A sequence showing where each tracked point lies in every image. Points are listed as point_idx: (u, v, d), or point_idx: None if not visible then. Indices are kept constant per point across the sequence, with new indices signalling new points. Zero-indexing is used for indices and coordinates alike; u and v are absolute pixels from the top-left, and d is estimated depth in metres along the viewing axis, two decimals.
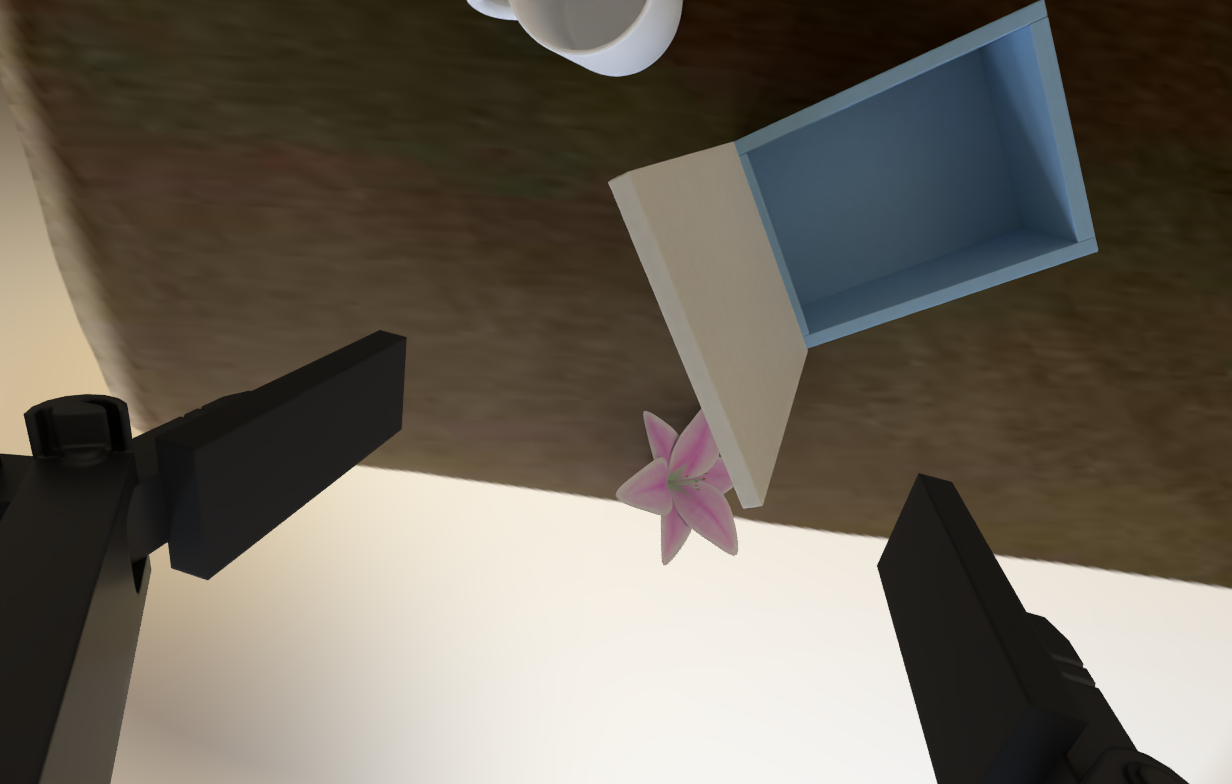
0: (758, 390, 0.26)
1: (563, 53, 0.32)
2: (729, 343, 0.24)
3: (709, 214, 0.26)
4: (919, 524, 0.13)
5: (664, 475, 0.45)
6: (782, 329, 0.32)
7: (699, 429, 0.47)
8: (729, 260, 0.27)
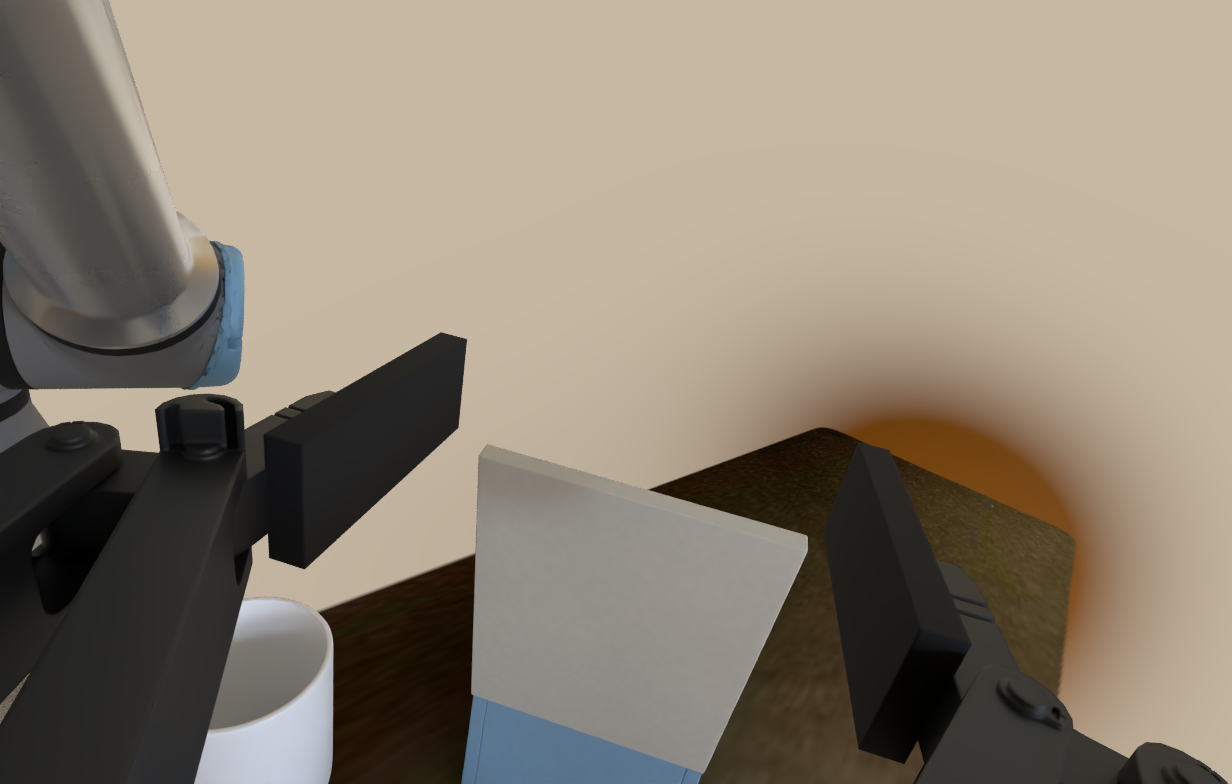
0: None
1: (261, 721, 0.28)
2: None
3: None
4: (855, 488, 0.14)
5: None
6: None
7: None
8: None
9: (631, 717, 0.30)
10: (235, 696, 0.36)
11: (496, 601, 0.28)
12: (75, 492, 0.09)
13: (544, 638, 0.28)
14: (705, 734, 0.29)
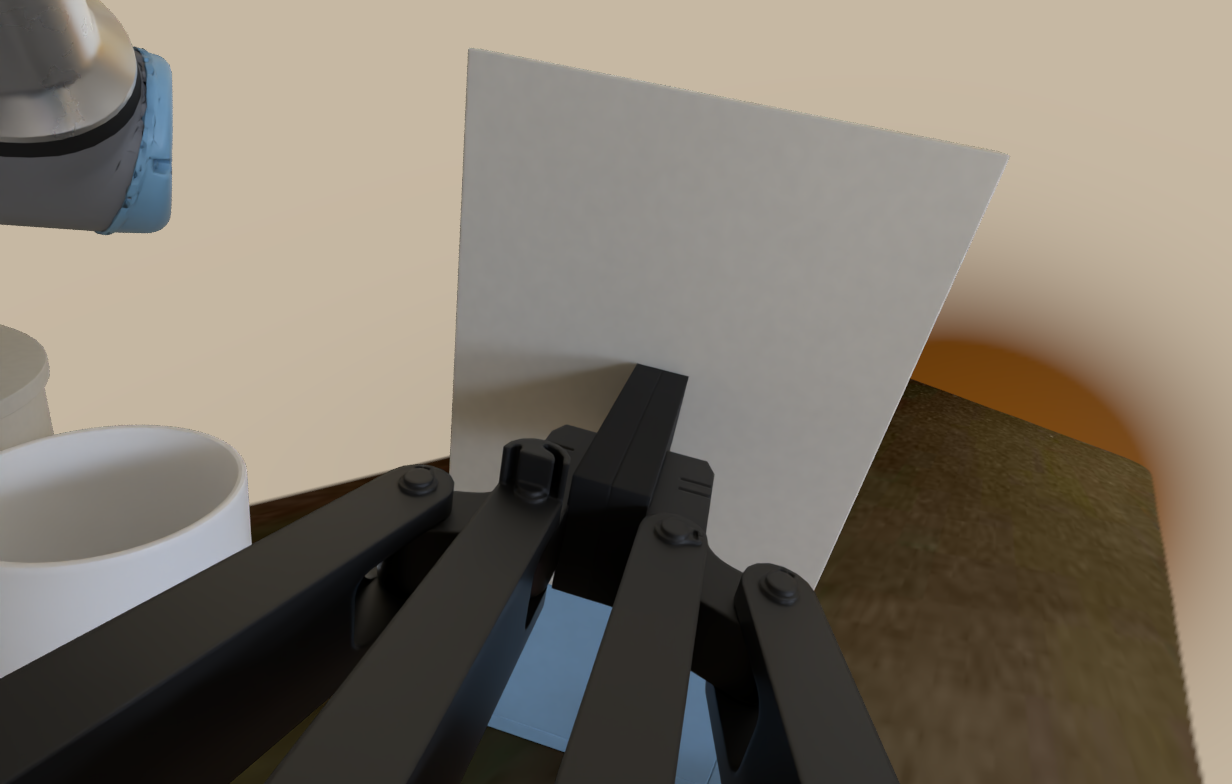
0: None
1: (115, 557, 0.18)
2: None
3: None
4: None
5: None
6: None
7: None
8: None
9: None
10: None
11: (487, 362, 0.19)
12: (404, 538, 0.10)
13: (558, 424, 0.19)
14: None
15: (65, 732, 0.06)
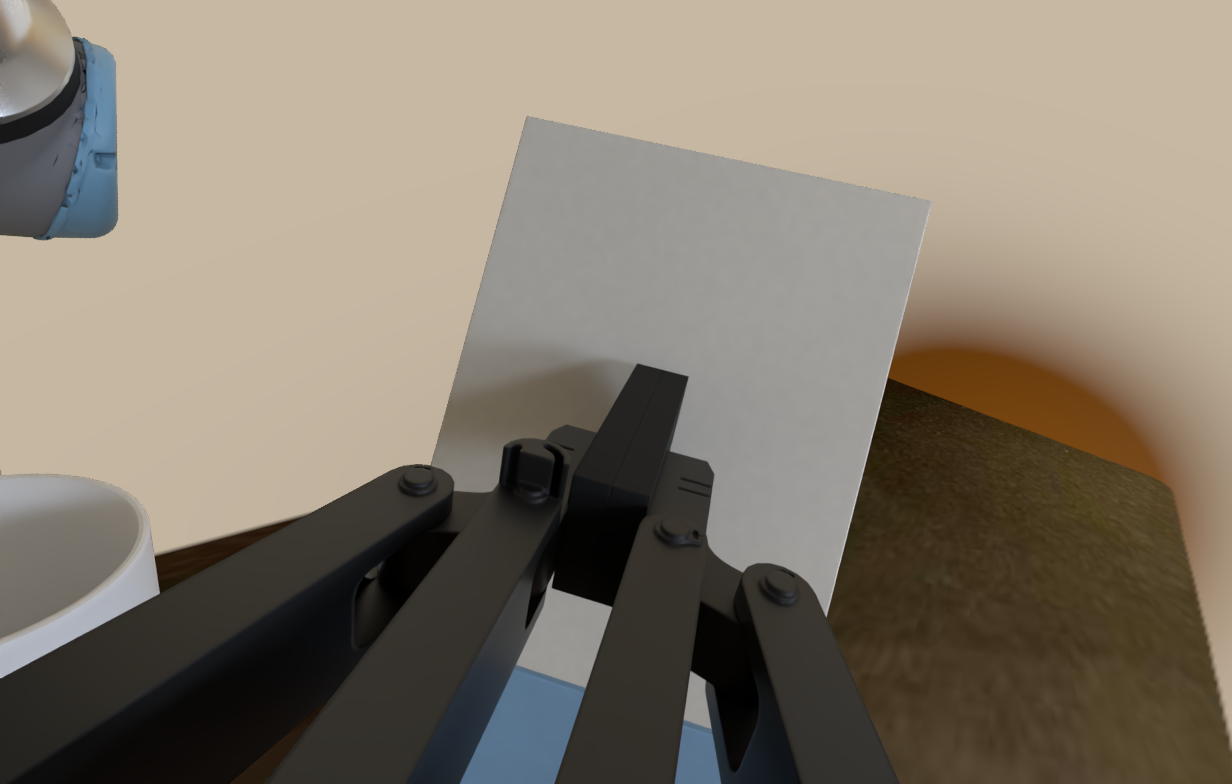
0: None
1: None
2: None
3: None
4: None
5: None
6: None
7: None
8: None
9: None
10: None
11: (489, 374, 0.19)
12: (404, 538, 0.10)
13: None
14: None
15: (65, 732, 0.06)
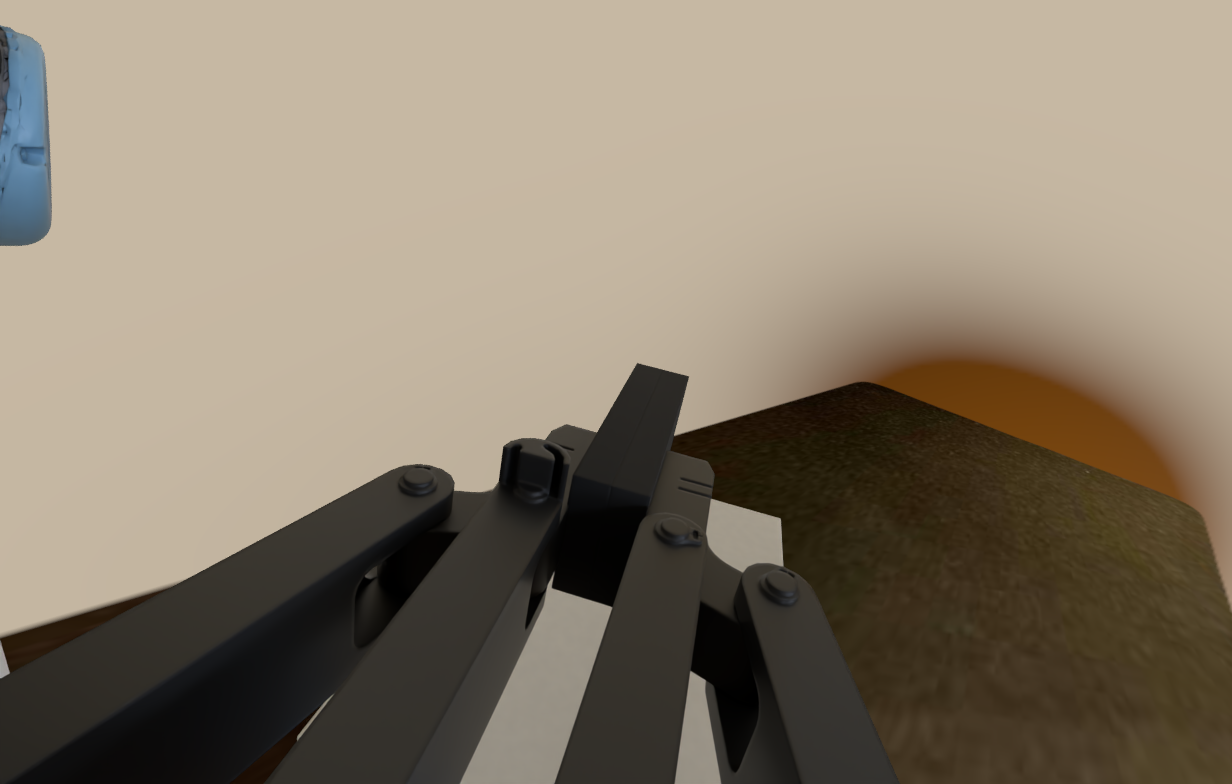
0: None
1: None
2: None
3: None
4: None
5: None
6: None
7: None
8: None
9: None
10: None
11: None
12: (404, 538, 0.10)
13: None
14: None
15: (65, 732, 0.06)
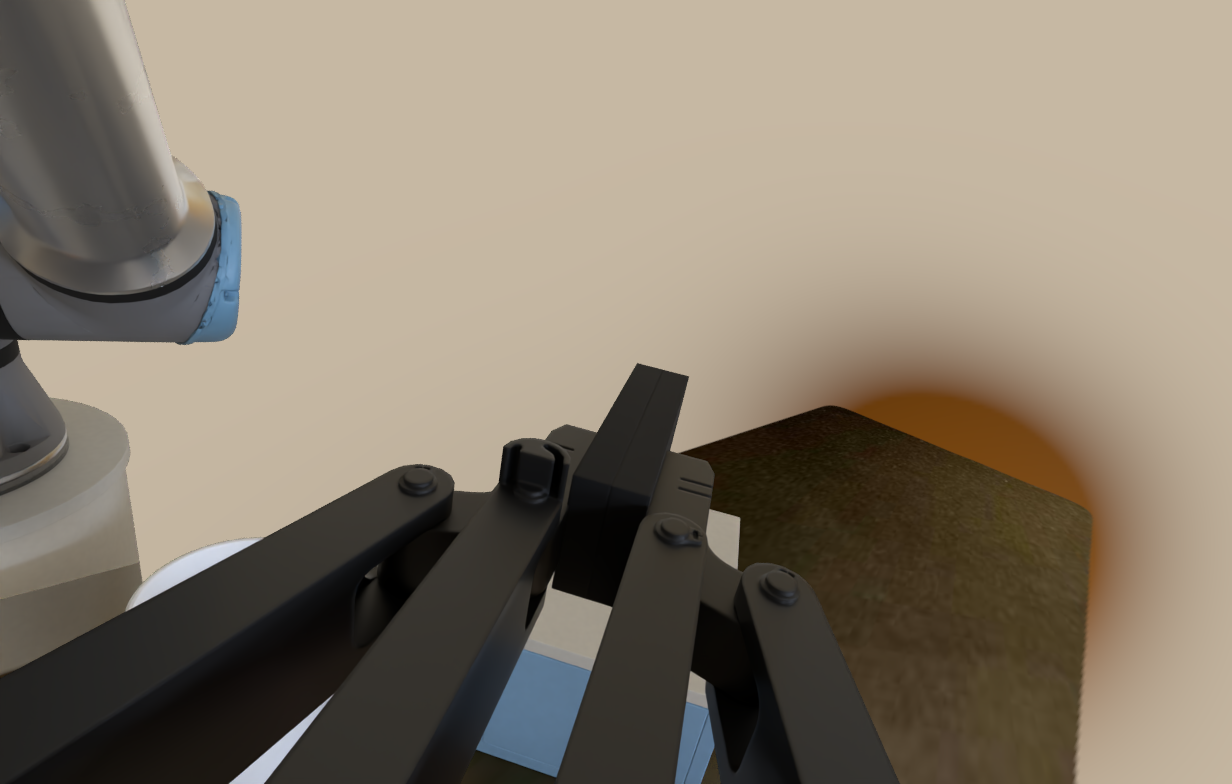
0: None
1: None
2: None
3: None
4: None
5: None
6: None
7: None
8: None
9: None
10: None
11: None
12: (404, 538, 0.10)
13: None
14: None
15: (65, 732, 0.06)
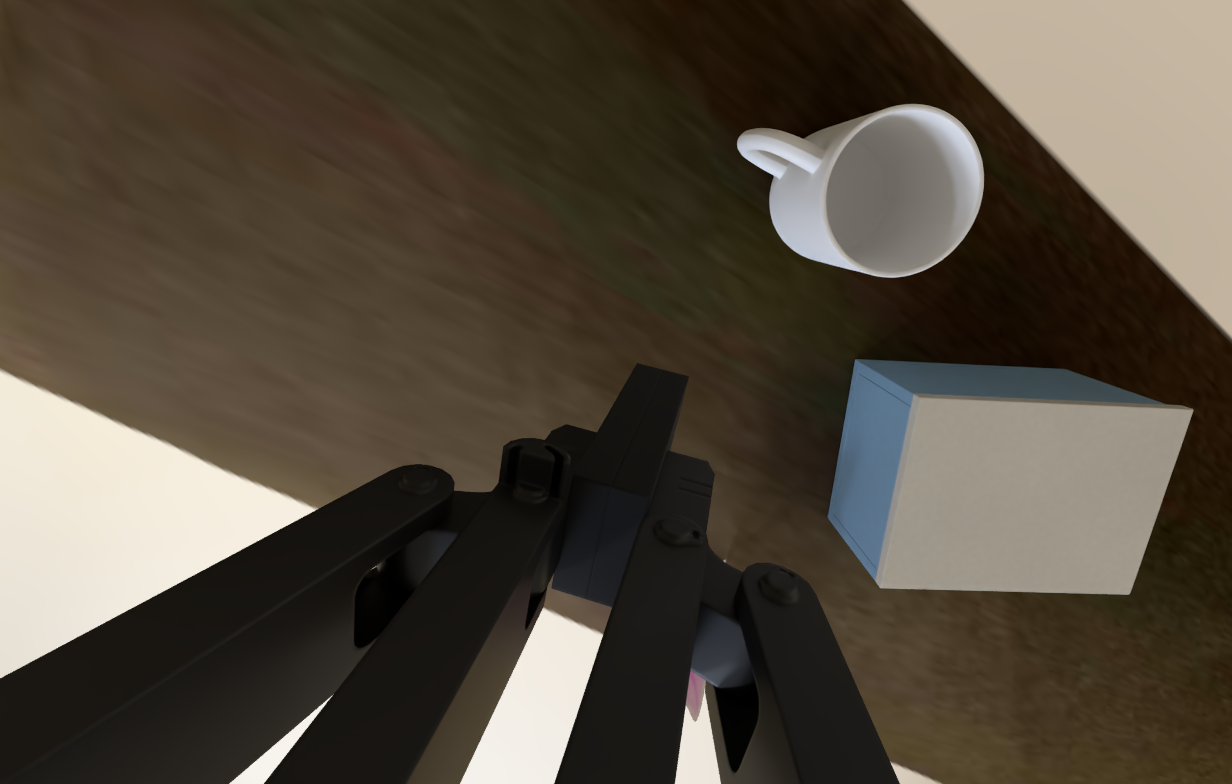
0: None
1: (843, 257, 0.32)
2: None
3: None
4: None
5: None
6: None
7: None
8: None
9: (938, 529, 0.38)
10: (896, 146, 0.37)
11: (1054, 421, 0.36)
12: (404, 538, 0.10)
13: (1018, 459, 0.37)
14: (935, 579, 0.39)
15: (65, 732, 0.06)
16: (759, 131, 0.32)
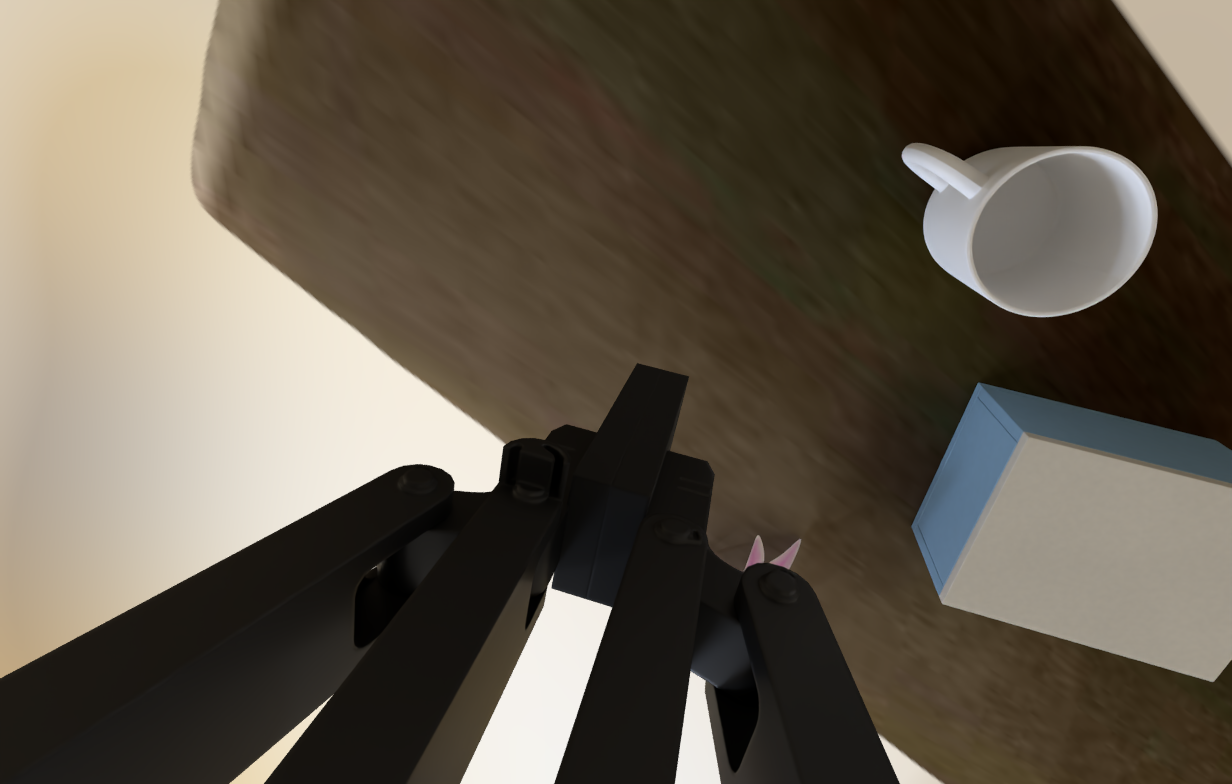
0: None
1: (979, 287, 0.32)
2: None
3: None
4: None
5: None
6: None
7: (778, 563, 0.50)
8: None
9: (1015, 565, 0.38)
10: (1075, 179, 0.35)
11: (1172, 491, 0.35)
12: (404, 538, 0.10)
13: (1121, 519, 0.36)
14: (1000, 611, 0.40)
15: (65, 732, 0.06)
16: (924, 148, 0.33)
